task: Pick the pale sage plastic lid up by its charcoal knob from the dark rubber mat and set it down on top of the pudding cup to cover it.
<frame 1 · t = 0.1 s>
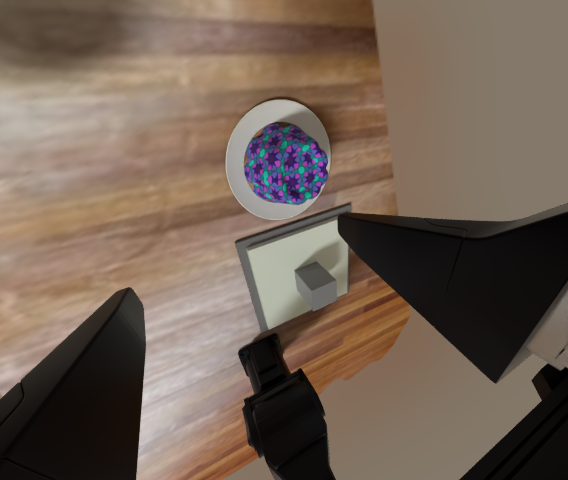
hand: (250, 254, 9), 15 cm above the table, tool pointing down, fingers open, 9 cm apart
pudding: (279, 165, 24), on the table
lid: (303, 272, 31), resting on mat
mat: (302, 271, 31), on the table
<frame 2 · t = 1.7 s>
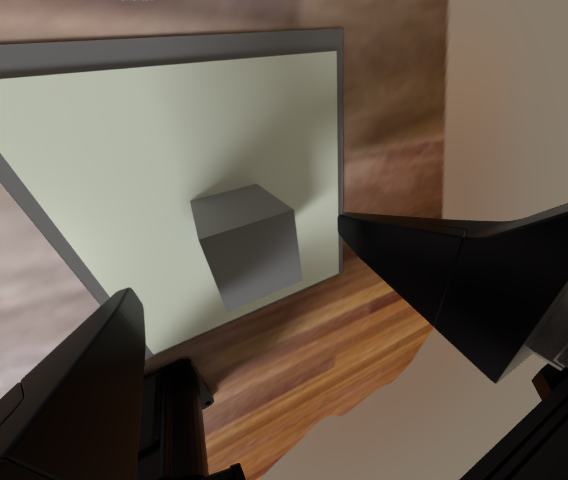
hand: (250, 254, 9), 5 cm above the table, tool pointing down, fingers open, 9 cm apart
lid: (230, 217, 13), resting on mat
mat: (228, 215, 13), on the table
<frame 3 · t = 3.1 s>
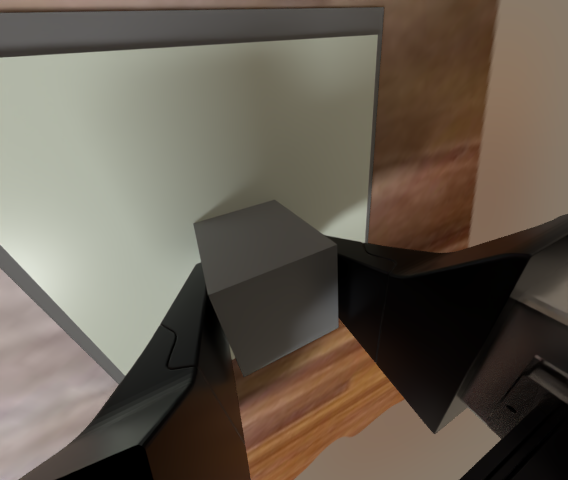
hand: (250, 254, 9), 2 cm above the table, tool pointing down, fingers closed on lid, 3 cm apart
lid: (241, 238, 11), resting on mat, touching gripper
mat: (239, 235, 11), on the table
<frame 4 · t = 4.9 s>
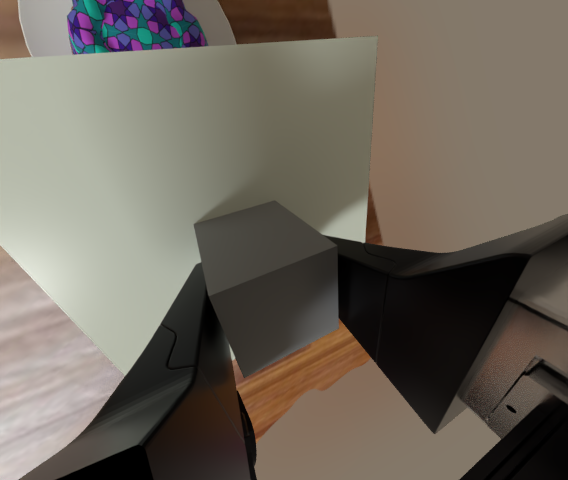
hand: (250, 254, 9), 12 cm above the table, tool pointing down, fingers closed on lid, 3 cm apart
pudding: (152, 66, 15), on the table
lid: (241, 239, 11), point 11 cm above the table, touching gripper
when the fingers open (8 cm above the table, at t = 6.8 s): lid drops 1 cm, point 5 cm above the table.
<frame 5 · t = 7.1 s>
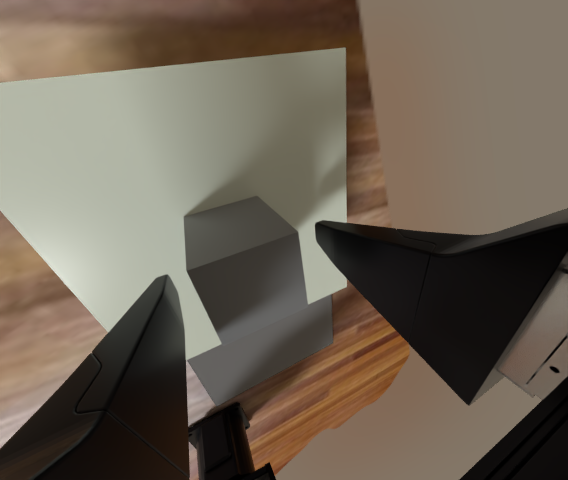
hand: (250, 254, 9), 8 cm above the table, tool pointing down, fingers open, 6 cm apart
lid: (229, 231, 12), point 5 cm above the table
mat: (267, 328, 24), on the table
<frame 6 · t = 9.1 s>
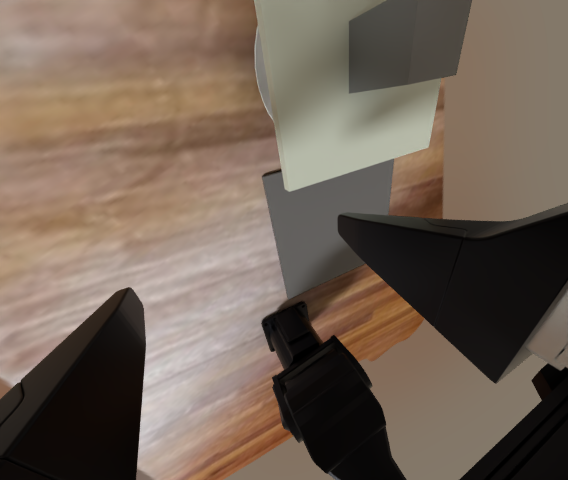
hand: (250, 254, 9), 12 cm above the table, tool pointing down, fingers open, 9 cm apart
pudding: (317, 71, 19), on the table, touching lid
lid: (362, 59, 15), point 5 cm above the table, touching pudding
mat: (336, 224, 27), on the table
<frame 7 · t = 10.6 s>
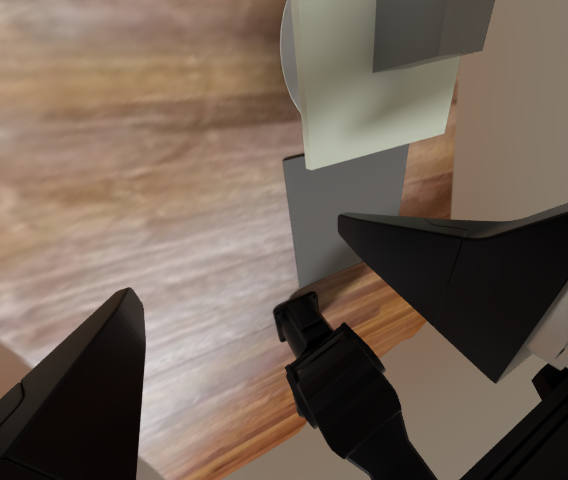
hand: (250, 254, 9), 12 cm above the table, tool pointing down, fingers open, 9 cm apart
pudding: (338, 57, 19), on the table, touching lid
lid: (385, 40, 15), point 5 cm above the table, touching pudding
mat: (350, 213, 27), on the table
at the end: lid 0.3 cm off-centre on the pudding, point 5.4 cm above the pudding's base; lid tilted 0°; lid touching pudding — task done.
